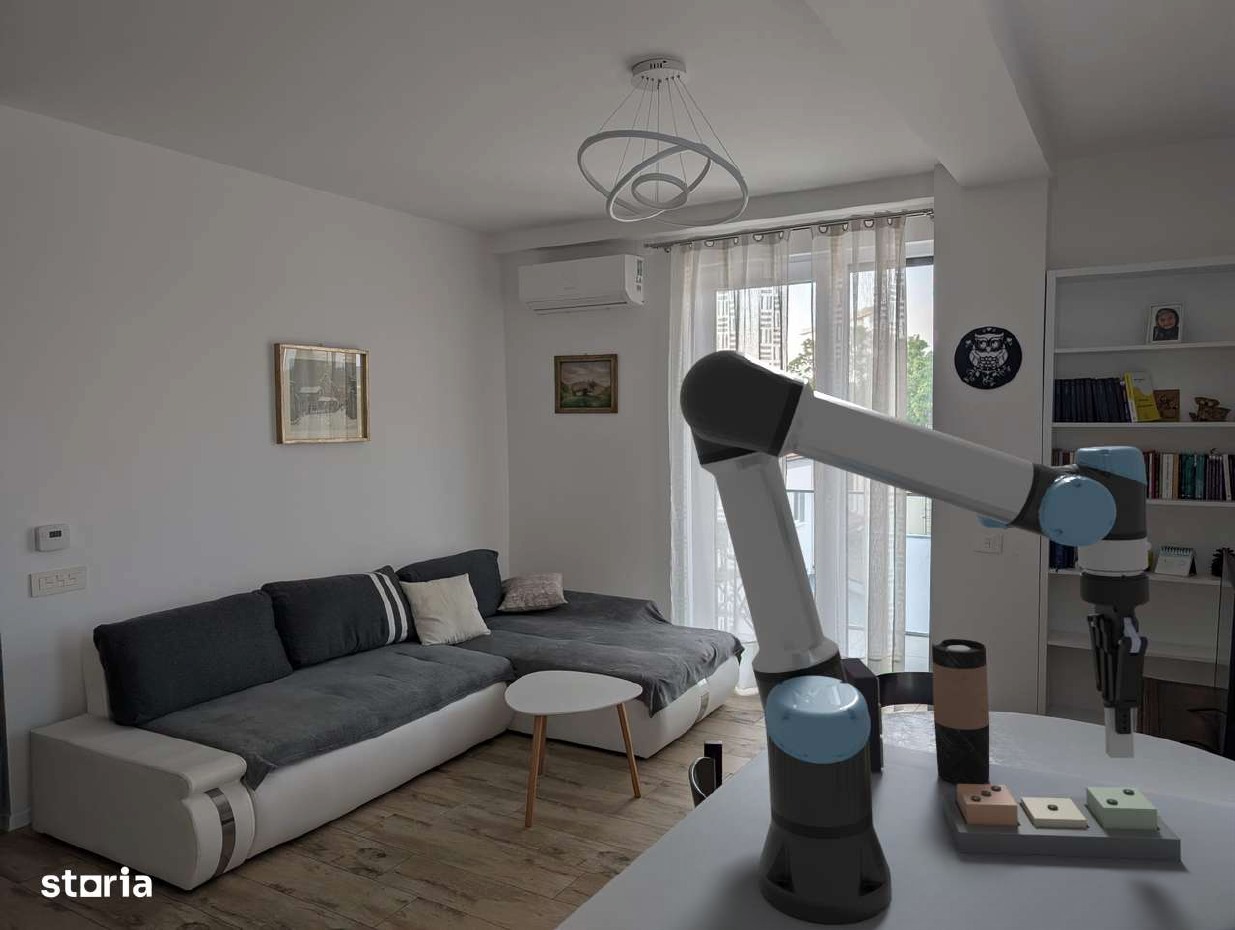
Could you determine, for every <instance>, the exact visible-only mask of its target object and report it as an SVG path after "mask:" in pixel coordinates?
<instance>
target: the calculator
mask: <svg viewBox="0 0 1235 930" xmlns="http://www.w3.org/2000/svg"><path fill="white" fill-rule="evenodd" d="M841 659H842V663H843V667H844V671H845V674H846V678H847V682H848V684H850V685H852V686H854V687H855V688H856V689H857V690H858V691H860V693H861V694H862V695H863V697H864V698H865V700H866V703H867V709H868V713H869V717H870V724H871V729H870V736H869V744H870V766H871V772H872V773H881V772H882V768H884V767H885V765H884V764H885V763H884V740H883V737H882V736H881V735H883V717H882V716H883V714H882V713H883V712H882V705H881V703H880V702H881V701H880V700H881V698H880V697H881V695H880V679H879V678H878V677H877V675H876V674H875V673H874V672H873V671H872V670H871V669H870V668H869V667H868V666H867V665H866V664H865V663H864V662H863V661H862V660H861V659H860V658H859V657H848V658H841Z"/></svg>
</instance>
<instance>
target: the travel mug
mask: <svg viewBox="0 0 1235 930" xmlns="http://www.w3.org/2000/svg"><path fill="white" fill-rule="evenodd" d="M931 656H932V694H933V697H932V698H933V719H934V720H933V722H934V723H933V724H934V736H935V737H934V738H935V739H934V740H935V753H936V764H937V765H936V767H937V775H938V777H939V779H940V780H942V781H943V782H944V783H947V784H949V785H953V786H956V787H957V784H988V782H989V780H990V712H989V692H988V691H989V690H988V688H989V687H988V669H987V665H988V664H987V648H986V645H985V644H983V643H982V642H979V641H977V640H970V639H963V638H962V639H959V638H951V639H950V638H948V639H943V640H942V641H941V642H940V643H939V644H934V643H931Z"/></svg>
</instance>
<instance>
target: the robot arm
mask: <svg viewBox="0 0 1235 930" xmlns="http://www.w3.org/2000/svg"><path fill="white" fill-rule="evenodd" d="M679 403H680V404H679V405H680V409H681V413H682V416H683V418H684V420H685V422H686V423H687V425H688V426H689V428H690V433H691V435H692V440H693V444H694V446H695V451H696V454H697V458H698V462H699V465H700V467H701V468H702V469H703V470H705V471H706V472H707V473H710V474H711V475H712V476H714V478H715V482H716V487H717V490H718V493H719V498H720V502H721V505H722V509H723V513H724V517H725V522H726V525H727V530H728V533H729V535H730V540H731V544H732V548H733V553H734V557H735V559H736V564H737V566H738V567H737V568H738V572H739V575H740V580H741V583H742V586H743V590H744V594H745V595H744V596H745V598H746V602H747V607H748V610H749V614H750V617H751V622H752V625H753V628H754V629H753V630H754V634H755V637H756V640H757V644H758V652H756V655H755V656H754V657H753V659H752V661H751V666H752V671H753V674H754V675H753V676H754V678H755V682H756V687H757V690H758V691H757V692H758V694H759V698H760V699H759V700H760V702H761V706H762V709H763V710H762V711H763V714H764V724H765V725H764V726H765V731H766V733H765V735H766V745H767V759H768V761H767V762H768V779H769V780H768V781H769V799H770V800H769V801H770V823H769V827H768V830H767V834H766V836H765V837H766V838H765V840H764V841H765V842H764V845H763V848H762V852H761V855H760V858H759V862H758V882H759V884H760V885H759V888H761V889H760V892H761V891H762V892H761V893H763V894H762V896H763V895H764V896H765V897H764V896H763V897H764V898H765V900H767V901H768V903H770V904H771V905H772V906H773V907H774V908H776V907H777V908H776V909H778V910H780V911H781V912H784V913H785V914H787V915H790V916H792V917H795V918H799V919H801V920H805V921H810V922H815V923H822V924H823V923H824V924H847V923H854V922H859V921H862V920H866V919H868V918H871V917H873V916H876V915H877V914H879V913H881V912H882V911H883V910H884V909H885V908H886V907H887V906H888V904H889V903H890V902H891V899H892V895H893V893H892V892H893V891H892V874H891V870H890V866H889V865H888V861H887V859H886V856H885V853H884V851H883V848H882V844H881V843H880V839H879V837H878V835H877V832H876V829H875V826H874V818H873V817H874V816H873V795H872V793H873V792H872V789H873V788H872V773H871V766H870V744H869V736H870V729H871V724H870V717H869V713H868V709H867V703H866V700H865V698H864V697H863V695H862V694H861V693H860V691H858V690H857V689H856V688H855V687H854V686H852V685H850V684H848V682H847V678H846V674H845V671H844V667H843V663H842V659H843V658H842V657H841V656H842V655H841V652H840V648H839V646H838V643H837V642H835V641H833V640H832V639H830V638H829V637H827V636H825V634H824V633H823V629H822V624H821V620H820V618H819V614H818V610H817V605H816V602H815V601H816V600H815V597H814V594H813V589H812V586H811V583H810V582H811V581H810V579H809V578H810V577H809V575H808V571H807V566H806V562H805V559H804V555H803V551H802V547H801V543H800V539H799V536H798V532H797V527H796V523H795V520H794V515H793V512H792V508H791V504H790V500H789V497H788V492H787V489H786V485H785V481H784V477H783V474H782V469H781V465H780V462H779V461H780V459H781V458H783V457H785V456H788V455H790V454H794V455H796V456H799V457H803V458H807V459H808V460H813V461H815V462H818V463H821V464H824V465H827V466H829V467H833V468H836V469H840V470H842V471H844V472H849V473H851V474H854V475H857V476H860V477H864V478H866V479H869V480H872V481H875V482H878V483H881V484H884V485H888V486H890V487H893V488H897V489H899V490H902V491H905V492H908V493H911V494H914V495H918V496H920V497H921V496H922V497H923V498H927V499H930V500H934V501H935V502H939V503H943V504H946V505H948V506H950V507H954V508H957V509H960V510H962V511H966V512H970V513H972V514H974V515H976V517H977V519H978V521H979V523H980V524H981V525H982V526H983V527H985V528H988V529H1003V530H1008V529H1013V528H1016V529H1019V530H1022V531H1026V532H1028V533H1031V534H1034V535H1037V536H1040V537H1043V538H1046V539H1049V540H1051V541H1052V542H1054V543H1056V544H1060V545H1063V546H1067V547H1069V546H1070V547H1077V556H1078V558H1077V559H1078V561H1077V563H1078V566H1079V567H1080V568H1082V569H1083V570H1081V571H1080V572H1079V593H1080V594H1079V596H1080V598H1081V600H1082V601H1084V602H1085V603H1088V604H1092V605H1094V613H1093V614H1092V613H1091V614H1089V613H1088V614H1087V615H1086V621H1087V625H1088V629H1089V635H1090V643H1091V650H1092V651H1091V652H1092V661H1093V667H1094V676H1095V678H1094V679H1095V684H1096V685H1095V688H1096V690H1097V692H1101V698H1102V702H1103V706H1104V709H1103V710H1104V734H1105V736H1104V737H1105V754H1106V755H1107V756H1108V757H1109V758H1111V759H1112V758H1113V759H1114V758H1117V759H1121V758H1122V759H1134V758H1135V752H1134V751H1135V749H1134V723H1133V722H1134V718H1133V716H1134V714H1133V709H1138V708H1141V705H1142V693H1143V692H1142V691H1143V681H1144V678H1143V677H1144V665H1145V654H1146V651H1147V649H1148V645H1149V640H1148V639H1147V637H1146V636H1138V633H1139V632H1140V631H1139V630H1140V628H1139V627H1140V626H1139V619H1137V617H1136V611H1135V610H1136V608H1137V607H1138V606H1143V605H1146V604H1147V603H1148V602H1150V599H1151V598H1150V595H1151V593H1150V592H1151V591H1150V576H1149V574H1148V573H1147V572H1146V571H1145V570H1147V568H1149V553H1148V551H1150V550H1151V549H1152V544H1151V542H1149V541H1148V529H1147V526H1148V525H1147V524H1148V523H1147V522H1148V521H1147V518H1148V517H1147V486H1148V481H1147V473H1146V463H1145V458H1144V457H1145V456H1144V455H1143V452H1142V451H1141V450H1140V449H1139V448H1137V447H1136V446H1127V445H1125V446H1124V445H1114V446H1113V445H1111V446H1109V445H1108V446H1092V447H1082V448H1081V447H1080V448H1078V449H1077V450H1076V452H1075V453H1074V454H1075V455H1074V460H1073V464H1072V463H1069V464H1067V465H1056V466H1054V465H1053V466H1048V465H1047V466H1046V465H1044V464H1039V463H1036V462H1033V461H1030V460H1029V459H1025V458H1022V457H1019V456H1016V455H1014V454H1010V453H1007V452H1004V451H1001V450H997V449H994V448H992V447H991V448H990V447H989V446H985V445H982V444H979V443H976V442H973V441H969V440H967V439H964V438H961V437H957V436H954V435H950V434H948V433H945V432H941V431H939V430H935V429H933V428H929V427H926V426H923V425H920V424H918V423H914V422H911V421H909V420H908V421H907V420H906V419H905V420H904V419H901V418H899V417H896V416H892V415H889V414H887V413H884V412H881V411H877V410H874V409H871V408H868V407H864V406H862V405H858V404H855V403H852V402H850V401H847V400H843V399H840V398H837V397H834V396H830V395H827V394H825V393H821V392H820V391H819V392H818V391H815V390H814V389H813V388H812V386H811V384H810V382H809V380H808V379H807V378H805V377H801V376H798V375H795V374H792V373H791V372H790V373H789V372H787V371H784V370H782V369H780V368H777V367H775V366H773V365H770V364H768V363H767V362H764V361H762V360H761V359H759V358H756V357H755V356H752V355H751V354H748V353H745V352H742V351H739V350H733V349H728V350H727V349H725V350H724V349H723V350H717V351H715V352H711V353H709V354H707V355H706V354H705V356H703V357H701V358H700V359H699V360H697V361H696V362H695V363H694V364H693V365H692V366H691V367H690V369H688V371H687V373H686V374H685V376H684V378H683V380H682V384H681V388H680V393H679Z"/></svg>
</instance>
